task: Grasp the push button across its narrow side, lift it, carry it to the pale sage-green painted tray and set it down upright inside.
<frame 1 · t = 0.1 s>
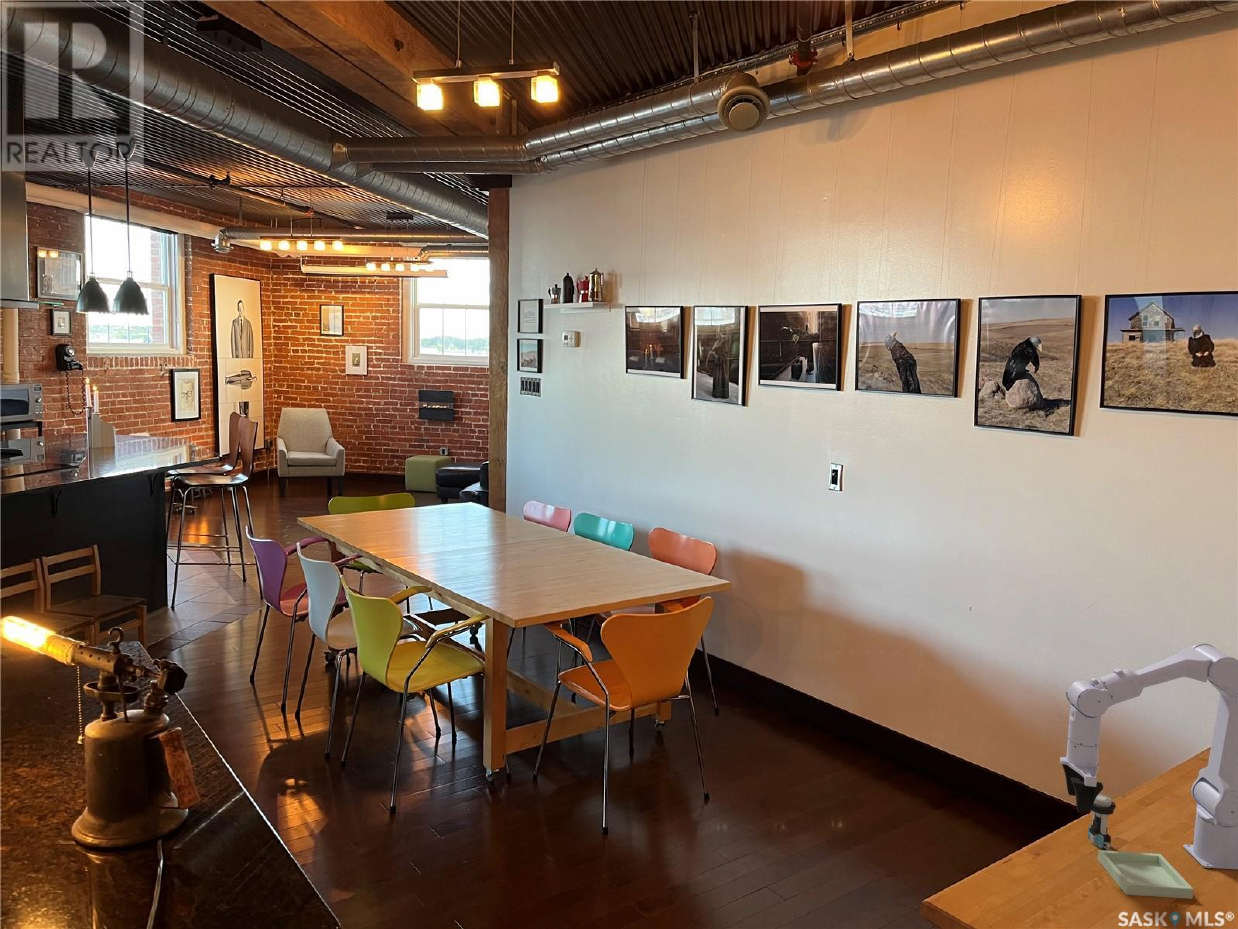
hand: (1078, 803, 183), 10 cm above the countertop, fingers open, 7 cm apart
tray: (1143, 878, 174), on the countertop
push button: (1099, 845, 186), on the countertop
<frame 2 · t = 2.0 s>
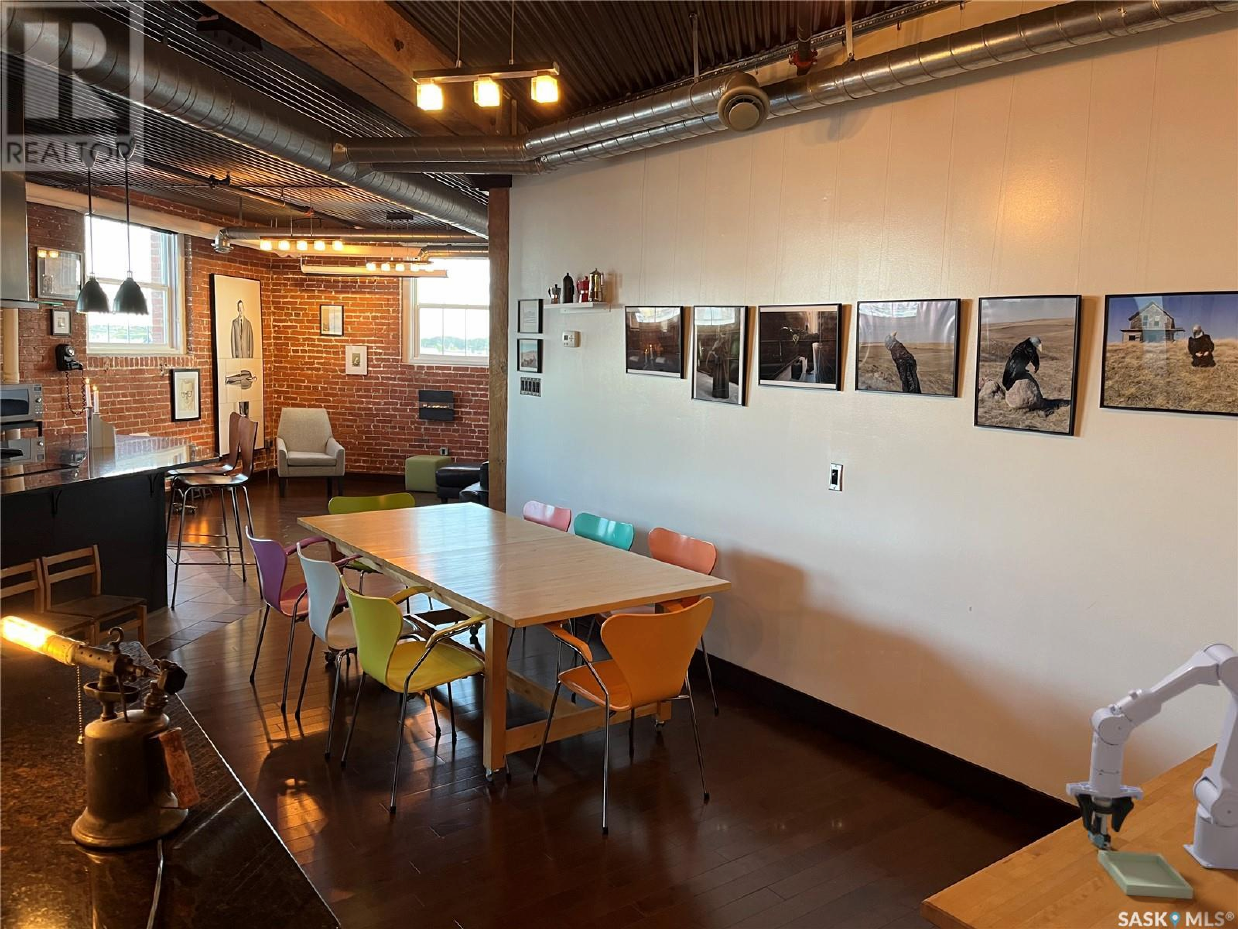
hand: (1101, 829, 186), 3 cm above the countertop, fingers closed on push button, 5 cm apart
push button: (1099, 845, 186), on the countertop, touching gripper
when the fingers open (5 cm above the countertop, at t = 6.0 s): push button stays where it is, resting on tray.
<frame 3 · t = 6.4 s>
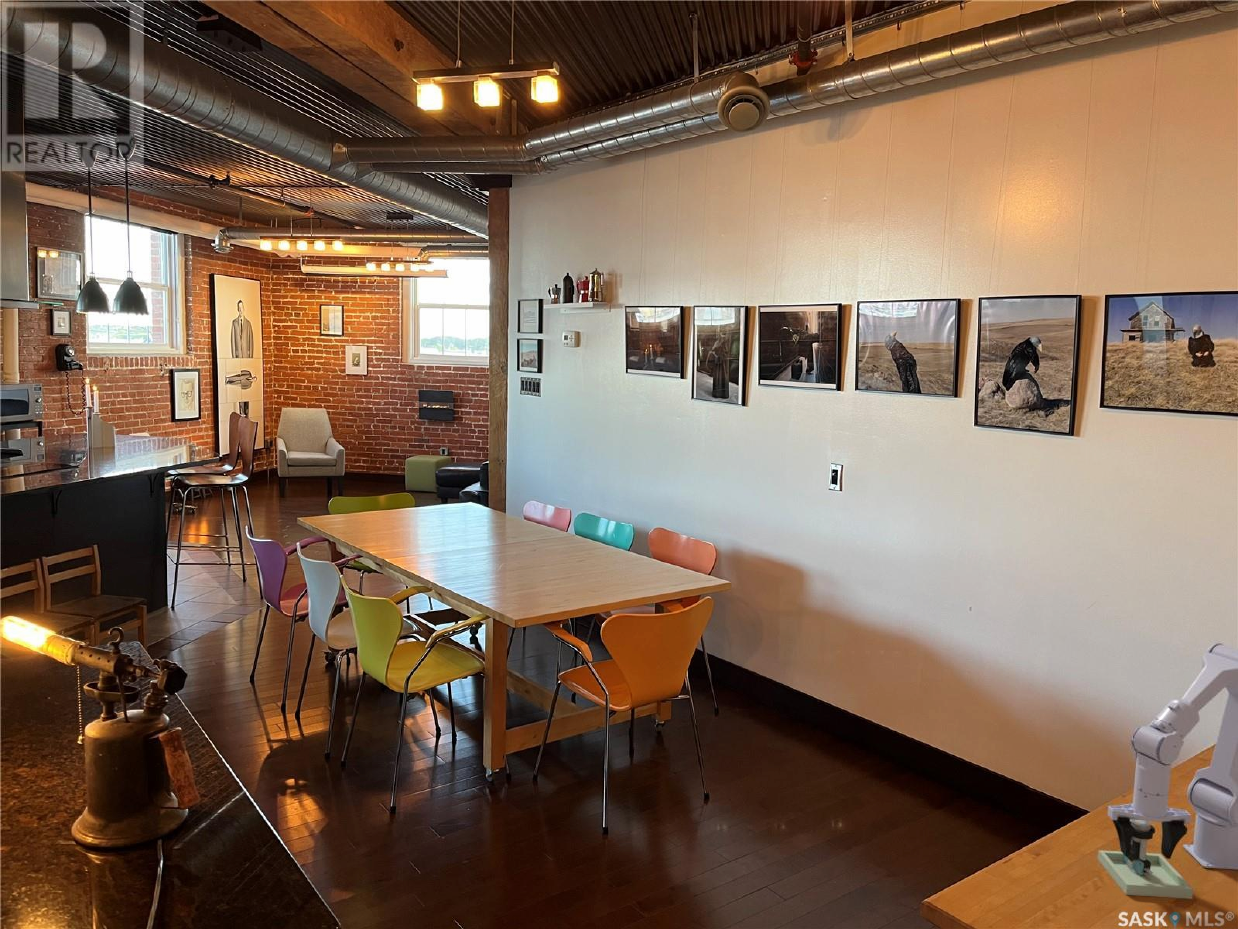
hand: (1145, 855, 173), 5 cm above the countertop, fingers open, 7 cm apart
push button: (1138, 871, 176), resting on tray
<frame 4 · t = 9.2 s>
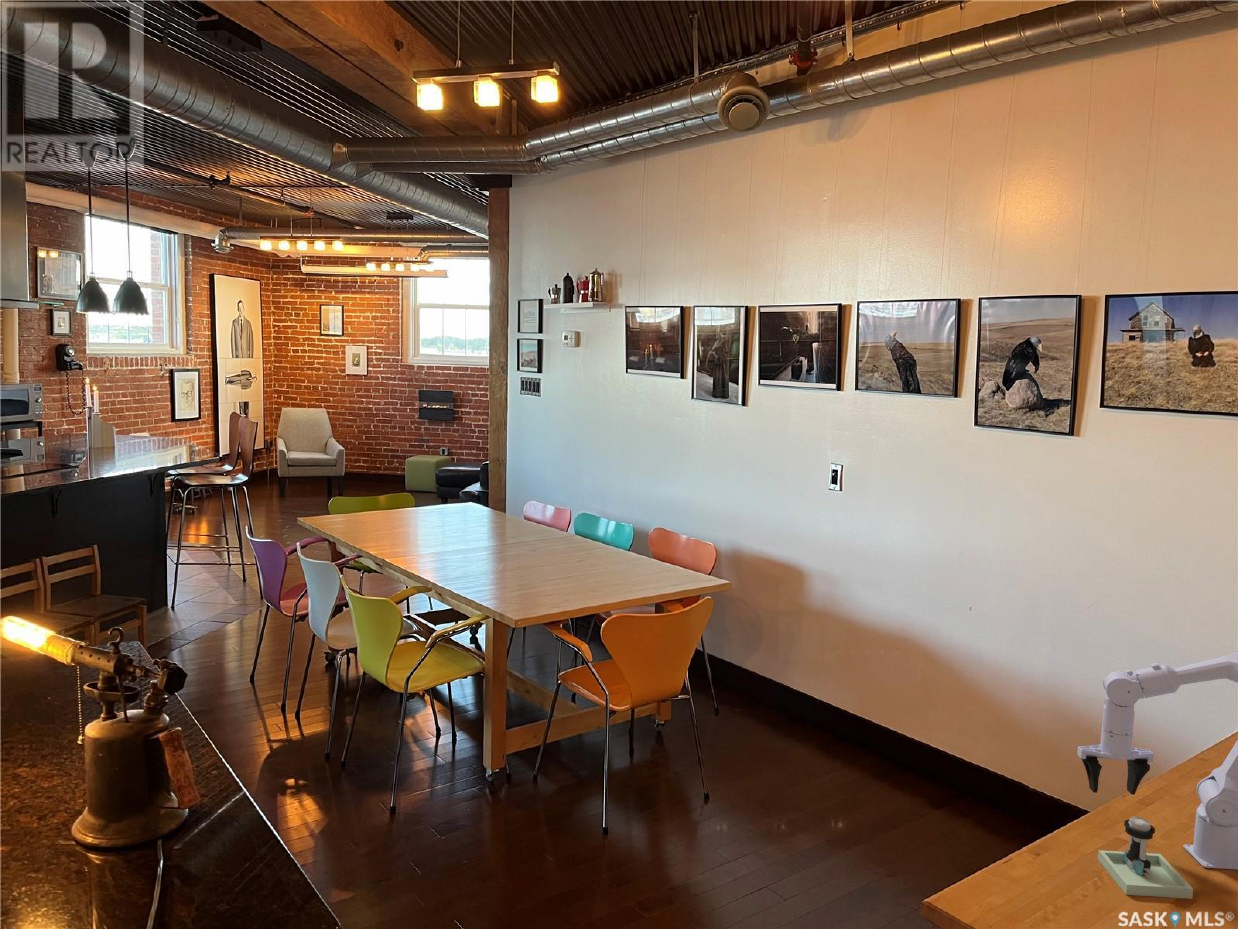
hand: (1112, 791, 187), 10 cm above the countertop, fingers open, 7 cm apart
nothing on the countertop moved.
at the end: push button inside the target area on the tray (1.8 cm from its centre), point 0.3 cm above the tray's base; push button tilted 0°; the gripper is holding nothing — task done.
